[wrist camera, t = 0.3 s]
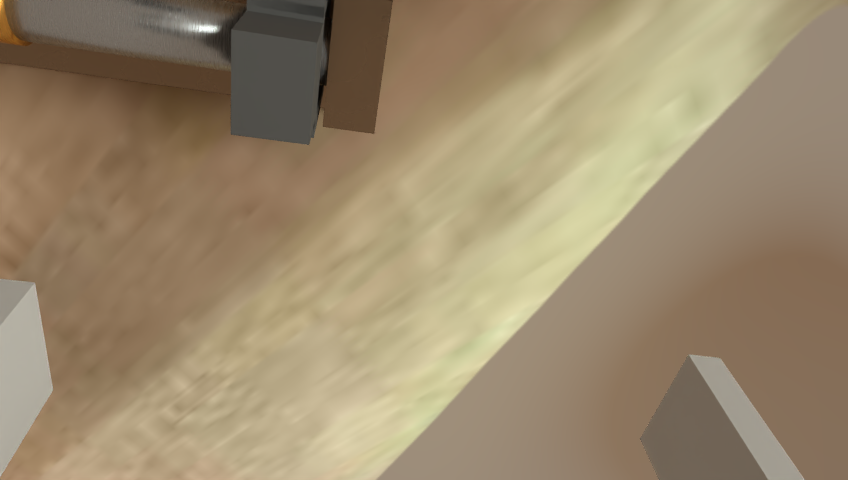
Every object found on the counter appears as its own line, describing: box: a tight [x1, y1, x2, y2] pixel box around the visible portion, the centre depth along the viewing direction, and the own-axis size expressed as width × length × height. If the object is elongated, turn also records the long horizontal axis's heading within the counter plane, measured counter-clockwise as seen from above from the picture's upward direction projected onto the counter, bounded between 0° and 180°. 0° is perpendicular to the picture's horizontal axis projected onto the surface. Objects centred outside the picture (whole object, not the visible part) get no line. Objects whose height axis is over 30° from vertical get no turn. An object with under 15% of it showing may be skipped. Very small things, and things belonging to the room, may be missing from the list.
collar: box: [231, 0, 332, 145], centre depth 26 cm, size 6×3×9 cm, turn 170°
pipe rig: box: [0, 0, 393, 134], centre depth 29 cm, size 10×23×9 cm, turn 80°
